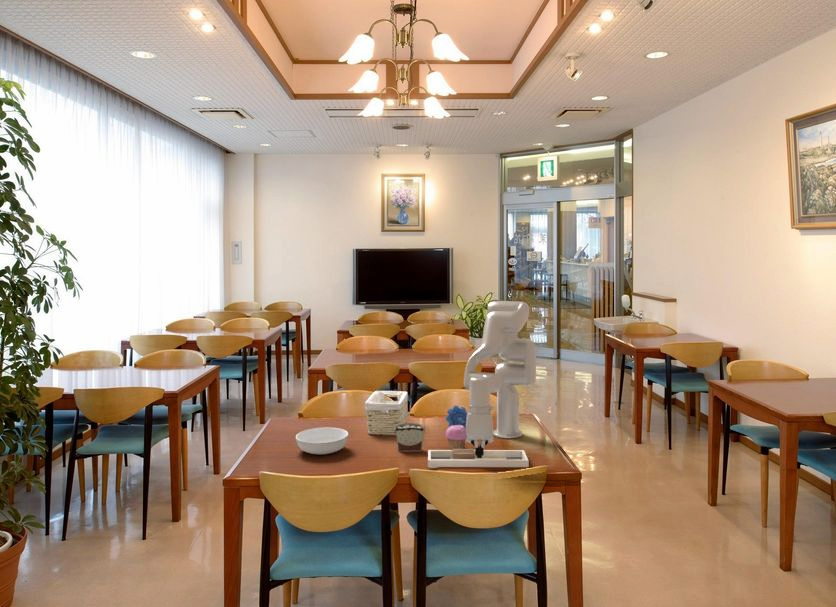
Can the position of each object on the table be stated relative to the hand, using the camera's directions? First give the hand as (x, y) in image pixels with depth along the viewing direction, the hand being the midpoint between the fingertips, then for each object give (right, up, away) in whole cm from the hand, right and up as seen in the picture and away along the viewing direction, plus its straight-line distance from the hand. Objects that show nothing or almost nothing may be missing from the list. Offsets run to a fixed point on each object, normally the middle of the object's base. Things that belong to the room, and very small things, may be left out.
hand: (479, 457), depth 242 cm
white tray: (-1, -2, 0) cm, 2 cm away
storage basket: (-37, +1, +48) cm, 61 cm away
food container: (-27, -1, +18) cm, 32 cm away
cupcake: (-8, -1, +16) cm, 18 cm away
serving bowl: (-62, -2, +16) cm, 64 cm away
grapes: (-5, +1, +40) cm, 41 cm away
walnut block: (-6, -2, 0) cm, 6 cm away
